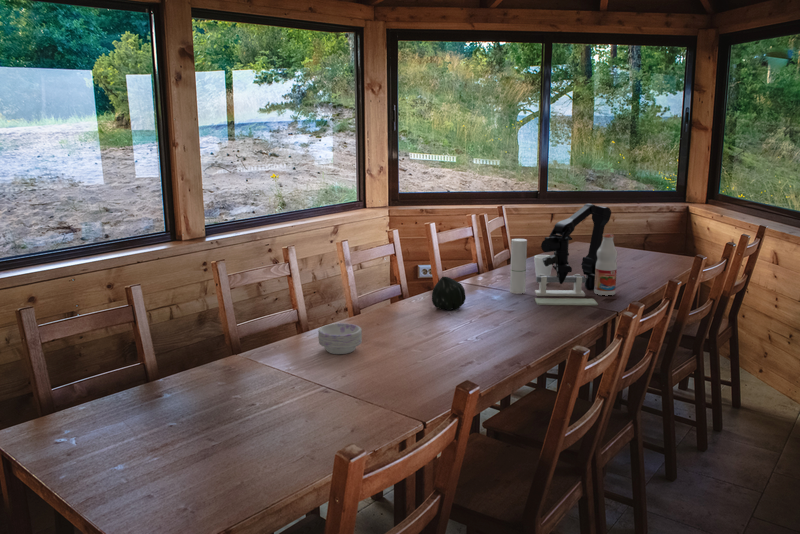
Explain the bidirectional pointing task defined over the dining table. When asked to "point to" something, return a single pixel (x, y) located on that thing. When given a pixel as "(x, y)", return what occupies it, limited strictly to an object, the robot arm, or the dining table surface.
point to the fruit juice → (606, 267)
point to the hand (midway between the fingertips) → (560, 283)
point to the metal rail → (556, 279)
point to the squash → (448, 294)
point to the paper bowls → (340, 337)
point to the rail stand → (575, 292)
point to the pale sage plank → (564, 301)
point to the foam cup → (542, 266)
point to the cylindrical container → (518, 266)
